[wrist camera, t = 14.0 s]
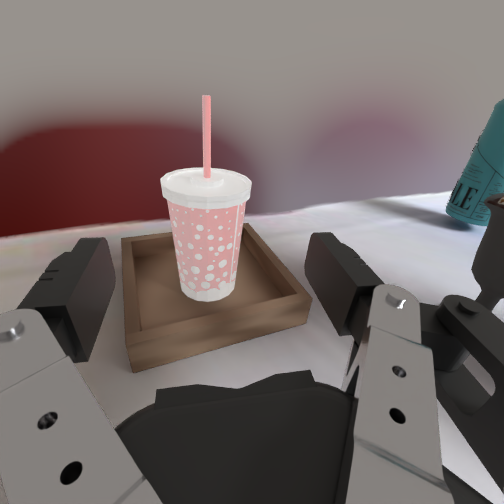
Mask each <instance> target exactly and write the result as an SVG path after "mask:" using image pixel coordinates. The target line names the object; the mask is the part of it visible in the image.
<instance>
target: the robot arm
mask: <svg viewBox="0 0 504 504" xmlns="http://www.w3.org/2000/svg"><path fill="white" fill-rule="evenodd" d="M305 275H306V277H307V279H308V281H309V283H310V285H311V286H312V288H313V290H314V292H315V294H316V295H317V297H318V299H319V301H320V302H321V304H322V306H323V308H324V310H325V311H326V313H327V315H328V317H329V318H330V320H331V322H332V324H333V326H334V327H335V329H336V331H337V333H338V334H339V336H345V335H352V336H353V338H354V340H353V342H352V345H351V349H350V354H349V358H348V362H347V366H346V371H345V375H344V379H343V383H342V387H341V390H340V389H338V388H336V387H333V386H330V385H328V384H324V383H320V382H315V381H314V378H313V376H312V373H311V371H310V370H305V371H297V372H289V373H281V374H275V375H272V376H270V377H268V378H265V379H263V380H260V381H258V382H255V383H253V384H250V385H248V386H246V387H243V388H239V389H233V388H225V387H216V386H208V385H199V384H196V385H188V386H180V387H172V388H165V389H157V390H156V399H155V403H154V404H151V405H149V406H147V407H145V408H143V409H141V410H139V411H137V412H136V413H134V414H133V415H131V416H130V417H128V418H127V419H126V420H125V421H123V422H122V423H121V424H119V425H118V426H117V427H116V428H115V429H114V428H113V426H112V425H111V423H110V422H109V420H108V418H107V417H106V415H105V413H104V412H103V410H102V409H101V407H100V405H99V404H98V402H97V400H96V399H95V397H94V396H93V394H92V392H91V391H90V389H89V388H88V386H87V384H86V383H85V381H84V379H83V378H82V376H81V375H80V373H79V371H78V370H77V368H76V366H75V365H74V363H79V362H88V360H89V357H90V355H91V352H92V349H93V346H94V343H95V341H96V338H97V335H98V332H99V329H100V327H101V324H102V321H103V318H104V316H105V313H106V310H107V307H108V304H109V302H110V299H111V296H112V293H113V290H114V287H115V271H114V267H113V263H112V259H111V255H110V251H109V246H108V243H107V240H106V239H105V238H104V237H102V238H81V239H80V240H79V241H78V242H77V244H76V245H75V247H74V248H73V250H72V251H71V252H64V253H63V254H61V255H60V256H58V257H57V258H56V259H54V260H53V261H52V262H51V263H50V264H49V266H48V267H47V268H46V270H45V273H43V274H42V275H41V276H40V278H39V281H37V282H36V283H35V285H34V286H33V287H32V289H31V290H30V291H29V293H28V294H27V295H26V297H25V298H24V299H23V301H22V302H21V303H20V305H19V306H18V308H17V309H16V310H12V311H9V312H5V313H3V314H0V476H1V479H2V483H3V486H4V490H5V493H6V497H7V500H8V504H493V503H492V502H490V501H489V500H488V499H486V498H485V497H484V496H482V495H481V494H480V493H479V492H477V491H476V490H475V489H473V488H472V487H471V486H469V485H468V484H467V483H465V482H464V481H463V480H462V479H460V478H459V477H458V476H456V475H455V474H454V473H452V472H451V471H450V470H448V469H447V468H446V467H445V466H443V465H442V460H441V448H440V437H439V425H438V413H437V401H436V397H437V399H438V400H439V402H440V403H441V405H442V406H443V408H444V409H445V410H446V412H447V413H448V415H449V416H450V418H451V419H452V420H453V422H454V423H455V425H456V426H457V428H458V429H459V431H460V432H461V433H462V435H463V436H464V438H465V439H466V441H467V442H468V443H469V445H470V446H471V448H472V449H473V451H474V452H475V454H476V455H477V456H478V458H479V459H480V461H481V462H482V464H483V465H484V466H485V468H486V469H487V471H488V472H489V474H490V475H491V477H492V478H493V479H494V481H495V482H496V484H497V485H498V487H499V488H500V489H501V491H502V492H503V494H504V323H503V322H502V321H501V320H500V319H498V318H497V317H496V316H495V315H494V314H493V313H491V312H490V311H489V310H488V309H487V308H485V307H484V306H483V305H481V304H480V303H478V302H476V301H474V300H472V299H469V298H467V297H464V296H459V295H448V296H446V297H444V299H443V301H442V302H441V304H440V306H436V305H430V304H424V303H419V302H418V300H417V299H416V298H415V296H414V295H412V294H411V293H410V292H408V291H407V290H405V289H403V288H400V287H398V286H394V285H389V284H384V283H383V281H382V280H381V279H380V278H379V277H378V276H377V275H376V274H375V273H374V272H373V271H372V269H371V268H370V267H369V266H368V265H366V263H365V262H364V261H363V260H362V259H360V256H359V255H358V254H357V253H356V252H355V251H354V250H353V249H351V248H350V247H348V246H347V245H345V244H343V243H341V242H340V241H339V240H338V239H337V238H336V237H335V236H334V235H333V233H331V232H321V233H313V234H312V235H311V237H310V242H309V246H308V251H307V255H306V260H305ZM470 353H471V355H472V356H473V357H474V358H475V359H476V360H477V361H478V362H479V363H480V364H481V365H482V366H483V367H484V369H485V370H486V371H487V372H488V373H489V374H490V375H491V377H492V378H493V380H494V382H495V387H496V389H495V393H494V394H493V395H492V396H490V395H489V394H488V393H487V391H486V390H485V389H484V388H483V387H482V386H481V384H480V383H479V382H478V381H477V380H476V379H475V378H474V376H473V375H472V374H471V373H470V372H469V371H468V369H467V368H466V367H465V366H464V365H463V364H462V363H463V362H464V361H465V359H466V358H467V357H468V356H469V354H470Z"/></svg>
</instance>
